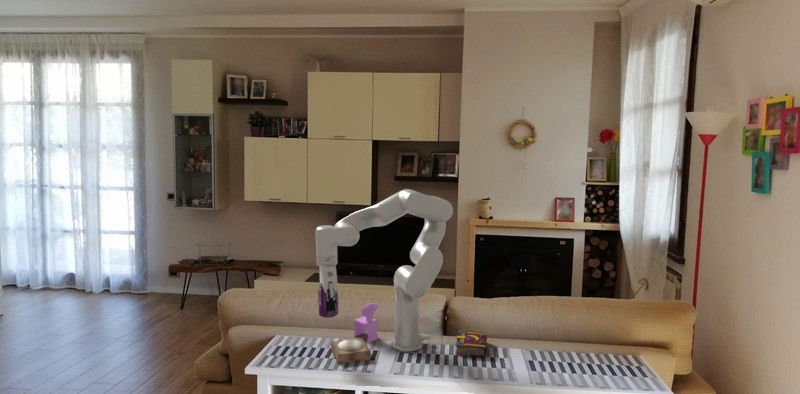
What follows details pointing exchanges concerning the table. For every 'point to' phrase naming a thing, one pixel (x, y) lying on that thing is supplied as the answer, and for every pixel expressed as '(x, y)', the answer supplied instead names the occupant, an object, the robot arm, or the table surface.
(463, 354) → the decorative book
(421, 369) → the table surface
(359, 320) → the toy chair
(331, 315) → the beverage can
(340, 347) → the base
